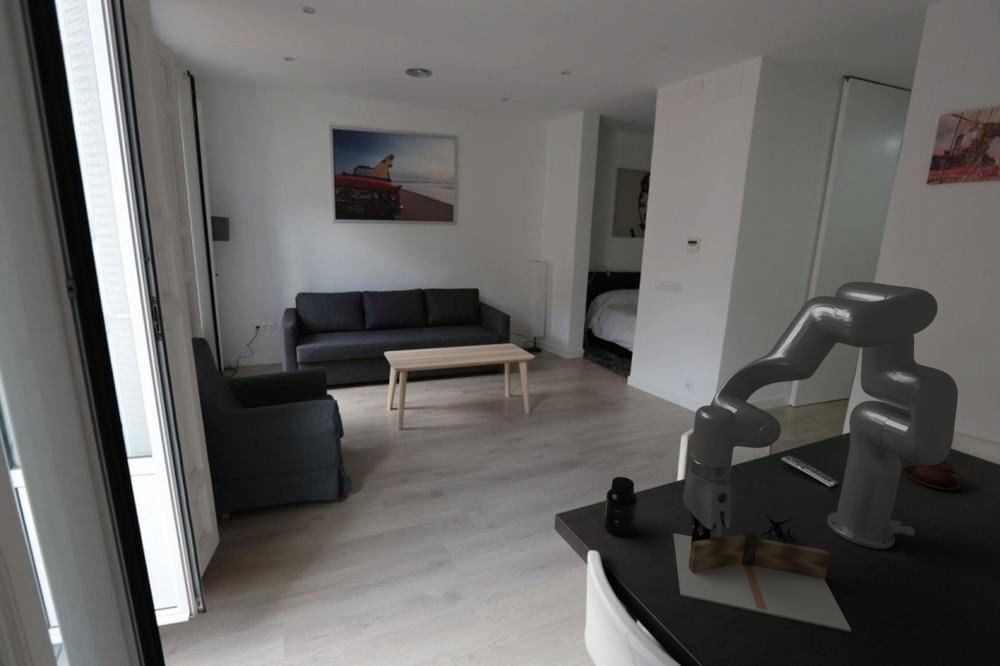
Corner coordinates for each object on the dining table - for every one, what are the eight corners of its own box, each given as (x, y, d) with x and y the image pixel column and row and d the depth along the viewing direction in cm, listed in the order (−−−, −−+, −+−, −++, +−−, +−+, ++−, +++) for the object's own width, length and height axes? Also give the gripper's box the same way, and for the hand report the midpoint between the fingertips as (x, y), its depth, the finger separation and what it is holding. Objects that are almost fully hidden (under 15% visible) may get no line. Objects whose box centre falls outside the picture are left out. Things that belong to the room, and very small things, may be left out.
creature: (801, 559, 102) (793, 531, 108) (806, 541, 100) (798, 514, 106) (761, 551, 104) (756, 524, 111) (766, 534, 102) (760, 507, 109)
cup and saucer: (953, 479, 134) (958, 460, 133) (965, 499, 125) (971, 478, 123) (899, 467, 141) (904, 449, 139) (906, 485, 131) (911, 465, 129)
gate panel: (738, 559, 98) (741, 534, 97) (742, 563, 97) (746, 537, 96) (688, 567, 96) (691, 541, 94) (692, 571, 94) (695, 545, 93)
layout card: (813, 560, 100) (814, 558, 100) (852, 632, 82) (852, 630, 82) (673, 534, 107) (673, 532, 107) (680, 595, 89) (680, 593, 89)
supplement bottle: (598, 529, 109) (602, 482, 106) (612, 516, 114) (616, 471, 111) (626, 542, 104) (630, 493, 102) (639, 528, 109) (643, 481, 107)
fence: (821, 574, 96) (827, 544, 94) (825, 582, 93) (832, 552, 92) (738, 558, 100) (743, 529, 98) (740, 566, 97) (745, 536, 96)
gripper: (751, 485, 88) (739, 570, 92) (704, 449, 102) (695, 523, 106) (715, 488, 86) (704, 574, 90) (672, 451, 101) (665, 527, 105)
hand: (699, 547), depth 98 cm, fingers closed
